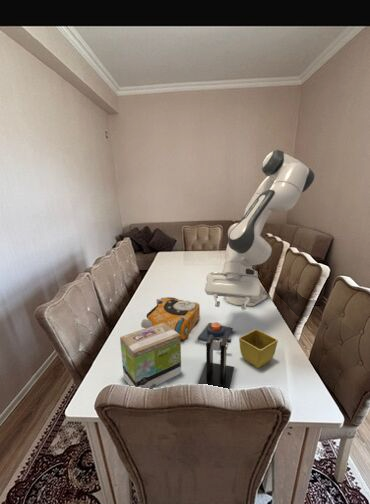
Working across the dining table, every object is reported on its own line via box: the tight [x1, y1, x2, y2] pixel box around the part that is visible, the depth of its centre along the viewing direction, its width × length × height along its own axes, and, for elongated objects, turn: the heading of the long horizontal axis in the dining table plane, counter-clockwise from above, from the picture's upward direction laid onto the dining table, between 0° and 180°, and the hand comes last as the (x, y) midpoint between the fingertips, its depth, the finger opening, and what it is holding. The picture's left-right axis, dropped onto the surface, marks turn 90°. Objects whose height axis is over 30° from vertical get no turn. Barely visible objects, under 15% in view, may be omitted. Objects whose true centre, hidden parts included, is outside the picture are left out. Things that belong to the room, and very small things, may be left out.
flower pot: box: [238, 328, 279, 369], centre depth 80 cm, size 9×9×9 cm
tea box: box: [119, 322, 182, 389], centre depth 74 cm, size 15×10×15 cm, turn 126°
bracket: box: [197, 335, 235, 390], centre depth 73 cm, size 12×9×14 cm
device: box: [140, 296, 201, 341], centre depth 108 cm, size 23×8×30 cm
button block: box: [197, 322, 234, 343], centre depth 96 cm, size 12×10×4 cm
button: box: [211, 322, 222, 331], centre depth 96 cm, size 4×4×2 cm
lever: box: [212, 337, 232, 352], centre depth 77 cm, size 15×5×2 cm, turn 162°
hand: (230, 307), depth 90 cm, fingers open, 8 cm apart
